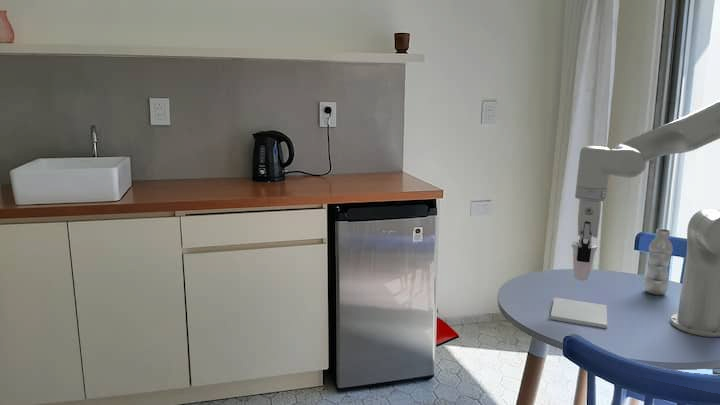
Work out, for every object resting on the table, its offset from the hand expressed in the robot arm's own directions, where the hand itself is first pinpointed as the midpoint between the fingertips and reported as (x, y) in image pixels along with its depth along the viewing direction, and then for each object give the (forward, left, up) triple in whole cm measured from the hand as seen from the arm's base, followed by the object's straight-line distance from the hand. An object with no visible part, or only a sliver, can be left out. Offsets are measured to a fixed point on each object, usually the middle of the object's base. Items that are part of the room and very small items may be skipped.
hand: (583, 257), depth 145 cm
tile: (0, 0, -16) cm, 16 cm away
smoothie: (0, 0, -6) cm, 6 cm away
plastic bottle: (-21, -26, -17) cm, 38 cm away
